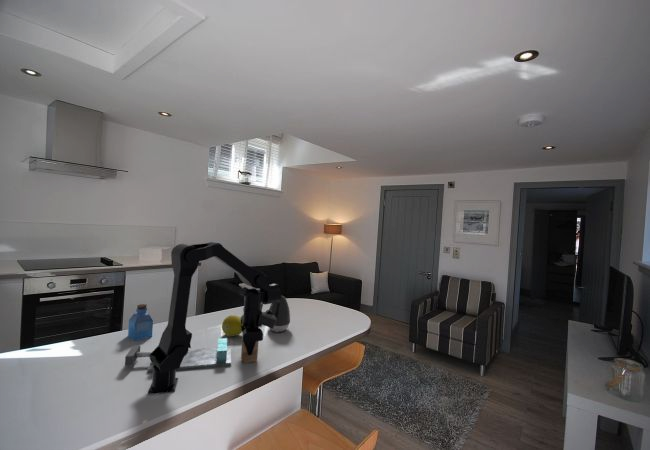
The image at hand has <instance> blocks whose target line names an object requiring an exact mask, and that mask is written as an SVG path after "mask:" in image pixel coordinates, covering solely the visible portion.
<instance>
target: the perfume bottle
mask: <svg viewBox="0 0 650 450" xmlns="http://www.w3.org/2000/svg"><path fill="white" fill-rule="evenodd" d="M147 306H148V305H147V304H145V303H140V304H138V305H137V306H136V307H137V308H136V309H135V311H136V313H135V312H134V313H133V314H132V315H131V317H129V320H128V329H127V337H128V338H130V339H131V340H132V341H133V342H135V341H140V340H144V339H145V340H146V339H149V338H152V337H153V329H154V327H153V326H154V320H153V318H152V317H151V315H150V314H149V313H148V312H147V311H148V307H147Z"/></svg>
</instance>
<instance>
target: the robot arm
mask: <svg viewBox="0 0 650 450" xmlns="http://www.w3.org/2000/svg"><path fill="white" fill-rule="evenodd" d="M170 253H171V254H170V257H171V267H172V271H173V275H174V276H173V284H172V290H171V291H172V292H171V296H170V297H171V298H170V299H171V300H170V306H169V313H168V321H167V325H166V327H165V329H164V330H163V332H162V334H161V337H160V340H159V343H158V345H157V346H156V347H155V349H154V350H153V352H152V353H151V354H150V355H149V357H148V358H149V360H150V363H151V362H153V364H154V366H153V372H152V376H151V377H152V379H151V380H152V381H151V384H150V387H149V389H148V391H147V395H154V394H163V393H164V394H165V393H174V392H175V391H176V388H177V384H178V380H179V378H178V377H176V375H177V370H176V369H178V368H179V367H180V365H181V363H182V360H183V358H184V356H186V355H187V353H188V350H190V349H192V346H191V340H192V338H193V333H192V332H191V331H189V330H188V329H187V328H186V323H187V318H188V311H189V310H188V309H189V301H190V292H191V287H192V279H193V276H194V274H195V273H196V271H197V269H198V267H199V263H200V262H202V261H207V260H209V259H211V258H215V259H216V260H217V261H219V262H220V263H222V264H223V265H224V266H226V267H227V268H229V269H230V270H231V271H233V272H234V273H235V274H236V275H237V276H238V278H239V279H240V281H241V282H242V283H243V284H245V285H246V287H245V286H243V288H242V289H241V290H240V291H239V292H238V294H239V295H241V296H243V297H244V298H243V299H244V300H243V302H244V303H243V308H242V310H243V312H242V313H243V314H242V315H241V316H240V318H241V324H243V325H242V326H241V329H242V335H241V336H242V338H243V341H244V344H245V347H246V350H247V353H248V355H252V352H253V349H254V346H255V343H256V341H258V342H262V341H263V339H264V331H263V330H262V329H261V328H260V327H262V326H265V327H268V328H269V327H270V328H272V329H273V328H274V326H275V323H276V321H277V319H276V317H275V316H274V315H272V311H271V310H269V309H267V310H265V311H263V310H262V311H261V302H262V303H263V305H271V303H276V302H279V301H280V300H281V297H282V296H283V295H282V291H281V289H280V288H279V284H278V283H272V284H270V283H269V282H268V281H267V279H266V277H267V275H266V274H265V272H263V271H261V270H259V269H256V268H254V267H252V266H249V265H247V264H246V263H245V262H244V261H243V260H241V259H240V258H238V257H237V255H234V254H233V253H232V252H230V251H229V250H228V249H227V248H225V247H224V246H223V245H222V243H219V242H215V241H210V242H206V243H205V242H204V243H196V244H195V243H194V244H190V245H189V244H187V243H179V244H177V245H175V246H174V247H173V248H172V250H171V252H170ZM247 286H249V287H251V288H248V287H247ZM270 328H269V329H270Z"/></svg>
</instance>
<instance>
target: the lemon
mask: <svg viewBox="0 0 650 450" xmlns="http://www.w3.org/2000/svg"><path fill="white" fill-rule="evenodd" d="M242 325H243V324H241V316H237V315H232V314H231V315H228V316H226V317H225V318H224V319H223V322H222V324H221V328H222V329H221V330H222V331H223V333H224V334H225V335H226V336H229V337H237V336H239V335H240V334H241V333H242V329H241V326H242ZM242 334H243V333H242Z"/></svg>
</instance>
